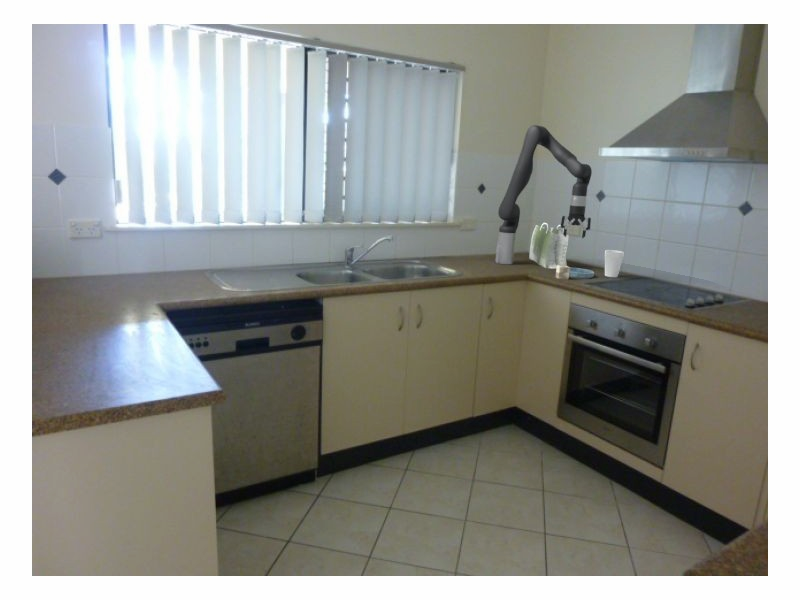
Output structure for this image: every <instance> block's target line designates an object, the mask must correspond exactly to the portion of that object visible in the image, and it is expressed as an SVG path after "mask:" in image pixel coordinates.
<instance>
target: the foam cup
mask: <svg viewBox="0 0 800 600" xmlns="http://www.w3.org/2000/svg"><path fill="white" fill-rule="evenodd" d="M624 257H625V251H623V250H616V249H605V250H604V276H605V277H608V278H618V276H619V273H620V269H621V266H622V263H623V259H624Z"/></svg>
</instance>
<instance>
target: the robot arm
mask: <svg viewBox="0 0 800 600" xmlns="http://www.w3.org/2000/svg"><path fill="white" fill-rule="evenodd" d="M538 145H539V146H542V147H544V148H545V149H547V151H549V152H550V153H551V154H552V156H553V157H554V159H555V160H556V161H557V162H558V163H560V164H561V165H562V166H563V167H564V168H566V169H567V171H568V172H569V173H570V174H571V175H572V176H573V177H574V178H576V182H575V183H574V184H573V185H572V190H571V197H570V202H569V210H568V211H569V212H568V215H567V216H565V215H562V217H561V222H560V225H561V226H560V228H563V229H564V232H563V231H562V232H563V235H564V237H566V234H568V233H567V231H568V228H569V227H570V226H581V228H582V233H581V239H584V238H586V235H587V231H589V230H591V222H592V220H591V219H592V218H591V217H586V216H585V215H586V214H585V213H586V205H587V194H588V186H589V184H590V181H591V177H592V174H593V173H592V167H591V165H589V164H587V163H582V162H580V161H579V160H578V158H577V156H576V155H575V154H574V153H573V152H571V151H570V150H569V149H567V148H566V147H565V146H564V145H562V144H561V143H560V142H559V141H558V140H557V139H556V137H554V136H553V135H552V134H551V132H550V131H549V130H548V129H547V127H545V126H542V125H538V124H533V125H531V126H529V127H528V128H527V130H526V133H525V136H524V140H523V143H522V148H521V151H520V154H519V156H518V160H517V162H516V164H515V167H514V170H513V173H512V176H511V179H510V181H509V183H508V187H507V189H506V192H505V194H504V197H503V199H502V201H501V203H500V204H499V208H498V213H497V214H498V217H499V218H500V219H501V220H503V223H502V224H501V225H500V226H499V228H498V230H499V231H498V237H497V238H498V239H497V244H496V249H495V263H496V264H500V265H513V264H514V254H515V243H516V235H517V230H518V227H519V222H520V216H521V208H520V206H519V205H518V204H517V200H518V198H519V196H520V194H521V193H522V192H523V191H524V189H525V188H526V187H527V185H528V184H529V182H530V179H531V177H532V174H533V171H534V154H535V151H536V149H537V146H538ZM566 220H568V222H567V223H566V225H564V224H565V221H566ZM584 222H586V223H587V224H586V225H587V227H586V226H585V225H584ZM563 229H562V230H563Z"/></svg>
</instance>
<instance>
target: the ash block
mask: <svg viewBox="0 0 800 600" xmlns="http://www.w3.org/2000/svg"><path fill="white" fill-rule="evenodd" d="M570 268H571V267H570V266H568V265H567V266H562V265H557V269H556V270H555V278H556V279H559V280H569V279H570V277H569V271H570Z"/></svg>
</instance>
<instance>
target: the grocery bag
mask: <svg viewBox="0 0 800 600" xmlns="http://www.w3.org/2000/svg"><path fill="white" fill-rule="evenodd" d="M543 225H546V227H544V226H543ZM560 227H561V223H560V224H558V225H557V226H556V228H555V227H552V226H549V224H548V223H547V222H542V224H541V225H537V224H535V226H534V230H533V232H532V235H531V241H530V247H529V257H528V259H529V260H532V261H534V262H535V263H536V264H538V265H539V266H540V265H541V267H543V268H545V269H557V265H562V266H568V265H567V258H566V257H567V251H568V248H569V241H570V235H569V234H568V233H566V237H564V235H563V232H564V229H563V228H562V231H561V230H558V229H559V228H560Z"/></svg>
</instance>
